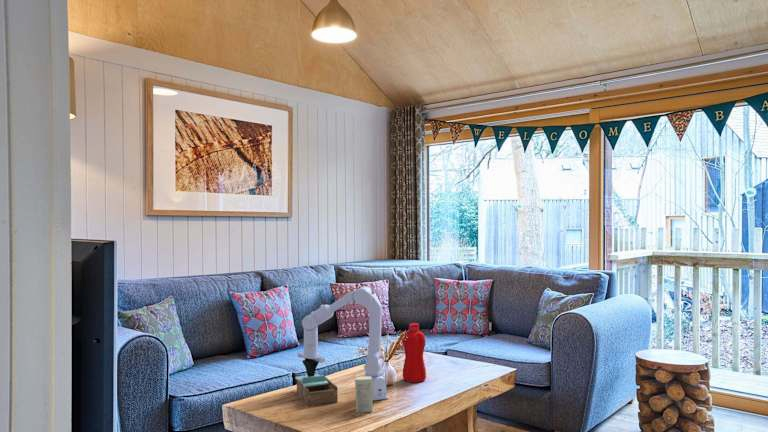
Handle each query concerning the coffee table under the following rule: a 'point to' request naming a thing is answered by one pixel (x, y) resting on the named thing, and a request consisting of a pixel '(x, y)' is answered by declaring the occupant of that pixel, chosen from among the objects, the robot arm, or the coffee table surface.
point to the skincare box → (363, 394)
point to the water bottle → (414, 354)
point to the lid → (312, 380)
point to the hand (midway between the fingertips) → (311, 377)
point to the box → (318, 393)
